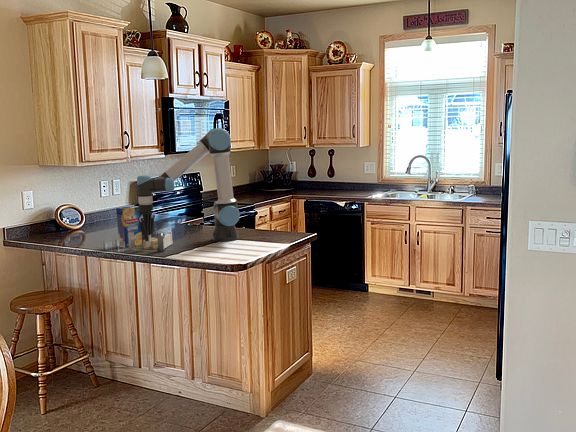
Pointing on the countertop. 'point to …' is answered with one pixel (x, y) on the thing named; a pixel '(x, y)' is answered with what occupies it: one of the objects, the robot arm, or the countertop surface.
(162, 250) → the posts
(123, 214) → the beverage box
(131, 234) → the latch post
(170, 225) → the countertop surface
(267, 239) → the countertop surface
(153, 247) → the oak block
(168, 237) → the white upright plank
